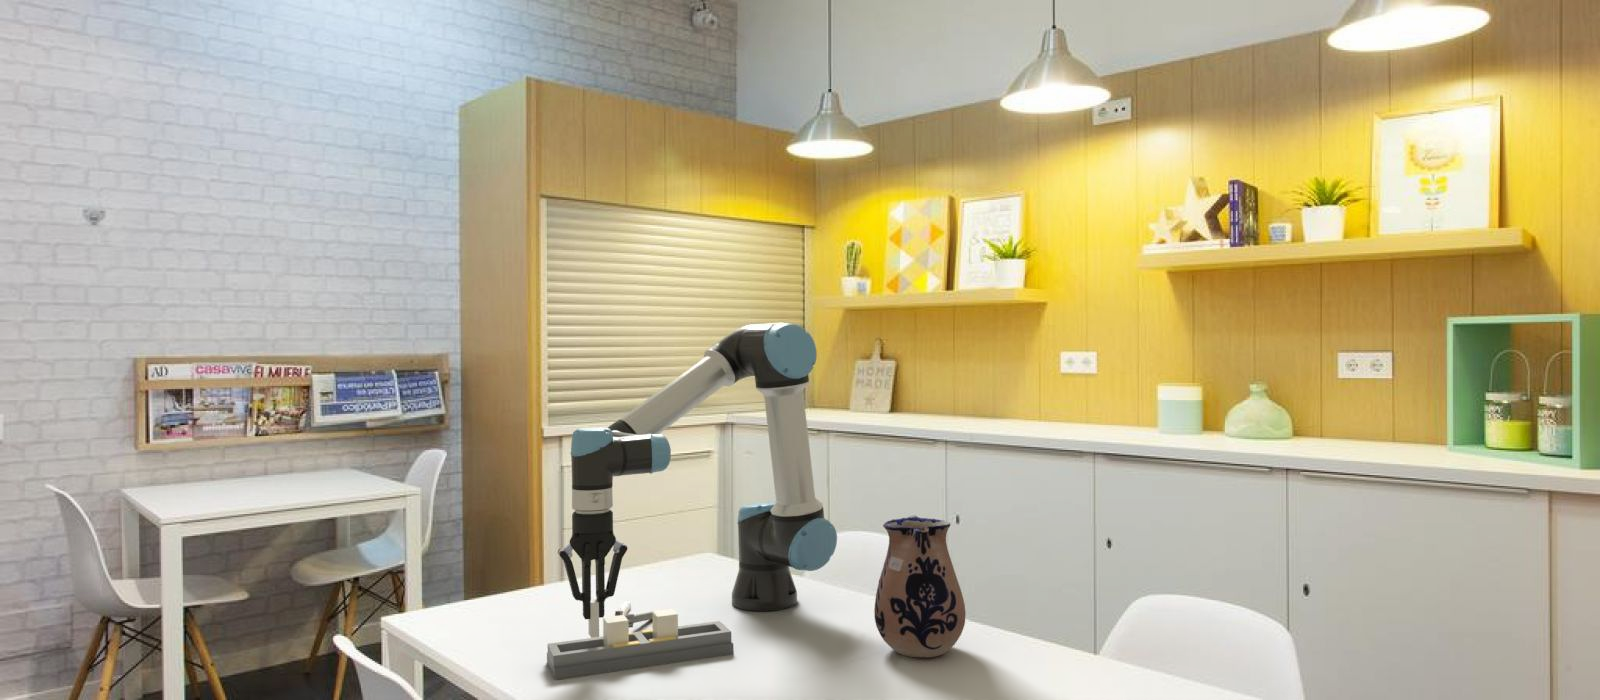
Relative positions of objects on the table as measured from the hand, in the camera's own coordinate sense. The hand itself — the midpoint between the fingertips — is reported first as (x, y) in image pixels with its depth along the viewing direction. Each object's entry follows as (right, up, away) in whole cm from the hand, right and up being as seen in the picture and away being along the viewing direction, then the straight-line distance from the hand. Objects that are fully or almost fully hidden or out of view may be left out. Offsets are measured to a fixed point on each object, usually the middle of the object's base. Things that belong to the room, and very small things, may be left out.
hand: (593, 635), depth 180 cm
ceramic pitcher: (+62, -5, +8) cm, 63 cm away
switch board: (+8, -6, +4) cm, 11 cm away
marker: (-1, -6, +30) cm, 31 cm away
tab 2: (+13, -3, +5) cm, 14 cm away
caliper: (+5, -6, +23) cm, 24 cm away
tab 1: (+4, -3, +2) cm, 5 cm away
